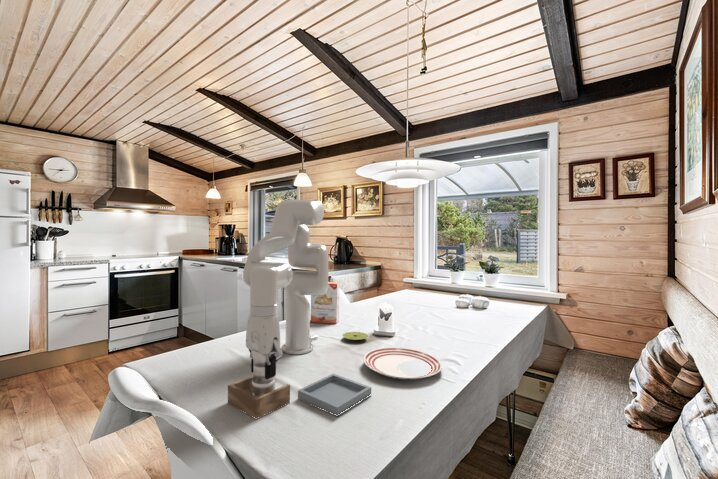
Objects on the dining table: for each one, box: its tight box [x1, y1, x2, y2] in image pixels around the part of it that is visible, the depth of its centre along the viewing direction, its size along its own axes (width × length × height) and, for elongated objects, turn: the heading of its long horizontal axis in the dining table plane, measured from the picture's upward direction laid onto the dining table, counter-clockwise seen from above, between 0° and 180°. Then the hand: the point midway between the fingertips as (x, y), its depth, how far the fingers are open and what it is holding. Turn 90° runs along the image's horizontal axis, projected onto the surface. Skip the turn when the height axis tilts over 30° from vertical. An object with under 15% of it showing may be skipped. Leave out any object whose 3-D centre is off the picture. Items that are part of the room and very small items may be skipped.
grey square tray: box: [297, 373, 372, 415], centre depth 100 cm, size 15×15×2 cm
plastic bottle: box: [251, 343, 276, 397], centre depth 97 cm, size 6×7×20 cm
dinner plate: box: [362, 346, 443, 380], centre depth 122 cm, size 27×27×3 cm
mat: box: [342, 331, 369, 341], centre depth 153 cm, size 11×11×2 cm
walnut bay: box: [227, 375, 291, 419], centre depth 96 cm, size 11×13×5 cm
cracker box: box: [310, 281, 340, 325], centre depth 180 cm, size 14×6×21 cm, turn 81°
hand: (263, 373), depth 97 cm, fingers closed on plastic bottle, 5 cm apart
